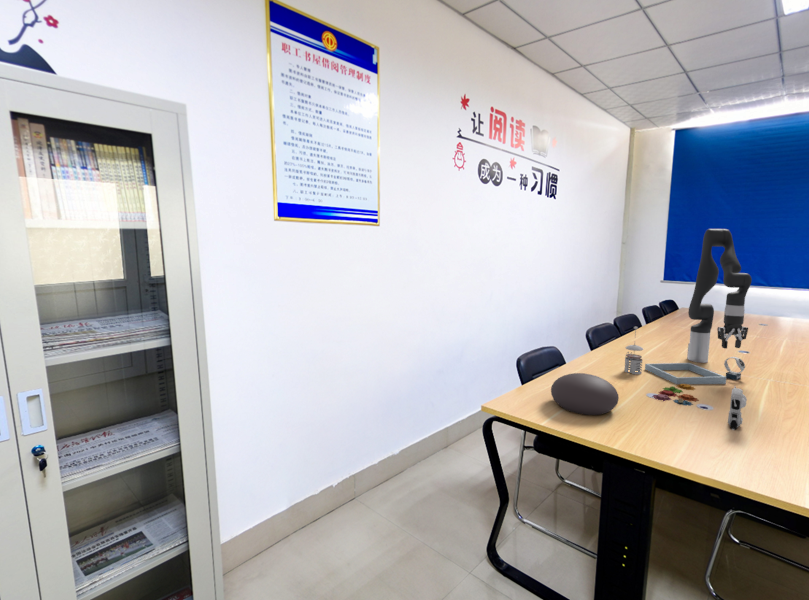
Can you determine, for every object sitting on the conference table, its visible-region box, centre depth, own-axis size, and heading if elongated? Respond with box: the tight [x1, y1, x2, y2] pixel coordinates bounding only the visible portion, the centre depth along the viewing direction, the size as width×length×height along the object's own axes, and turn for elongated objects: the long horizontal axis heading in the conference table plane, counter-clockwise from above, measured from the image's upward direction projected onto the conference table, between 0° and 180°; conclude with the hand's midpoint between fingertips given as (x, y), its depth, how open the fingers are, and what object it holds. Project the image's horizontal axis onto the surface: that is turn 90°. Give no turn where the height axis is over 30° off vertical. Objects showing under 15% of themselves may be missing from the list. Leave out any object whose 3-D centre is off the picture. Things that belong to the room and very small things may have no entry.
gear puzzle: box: [651, 384, 700, 407], centre depth 182 cm, size 31×16×4 cm, turn 134°
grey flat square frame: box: [644, 362, 727, 385], centre depth 207 cm, size 24×24×4 cm
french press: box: [623, 326, 644, 375], centre depth 212 cm, size 10×12×25 cm
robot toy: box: [727, 385, 748, 431], centre depth 148 cm, size 12×4×15 cm, turn 139°
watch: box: [723, 356, 746, 381], centre depth 204 cm, size 6×8×11 cm
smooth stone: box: [550, 372, 619, 416], centre depth 166 cm, size 25×25×15 cm
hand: (730, 347), depth 204 cm, fingers open, 6 cm apart
